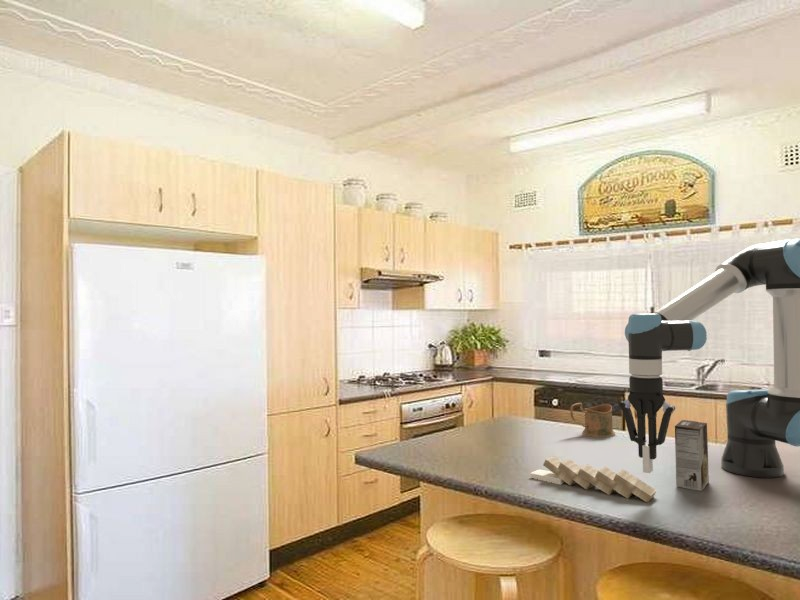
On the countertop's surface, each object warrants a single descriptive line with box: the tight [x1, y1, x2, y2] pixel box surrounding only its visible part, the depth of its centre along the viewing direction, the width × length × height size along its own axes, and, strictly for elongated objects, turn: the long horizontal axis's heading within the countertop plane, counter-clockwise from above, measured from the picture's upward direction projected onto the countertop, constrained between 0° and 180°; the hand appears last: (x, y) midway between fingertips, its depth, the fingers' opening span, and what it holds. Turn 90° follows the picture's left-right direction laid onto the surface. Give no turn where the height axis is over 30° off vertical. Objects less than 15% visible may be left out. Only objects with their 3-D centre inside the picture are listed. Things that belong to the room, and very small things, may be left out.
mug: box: [569, 402, 616, 438], centre depth 204 cm, size 12×18×12 cm, turn 107°
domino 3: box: [558, 458, 595, 491], centre depth 147 cm, size 2×5×9 cm
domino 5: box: [595, 465, 634, 499], centre depth 140 cm, size 2×5×9 cm
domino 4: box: [578, 463, 616, 496], centre depth 143 cm, size 2×5×9 cm
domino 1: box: [529, 469, 566, 485], centre depth 152 cm, size 2×5×9 cm
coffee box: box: [674, 419, 710, 492], centre depth 146 cm, size 9×6×16 cm
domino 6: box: [613, 468, 658, 504], centre depth 137 cm, size 2×5×9 cm
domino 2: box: [542, 455, 578, 486], centre depth 150 cm, size 2×5×9 cm
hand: (647, 471), depth 135 cm, fingers closed
